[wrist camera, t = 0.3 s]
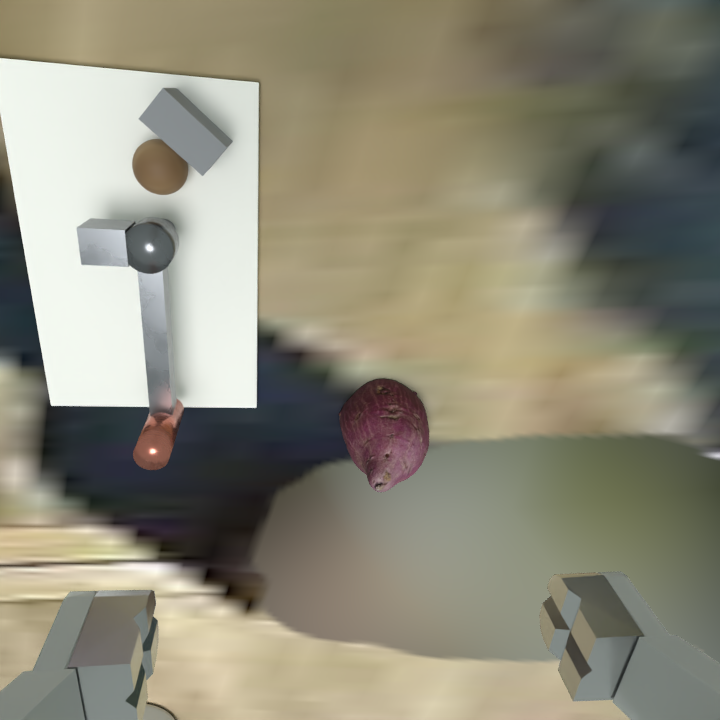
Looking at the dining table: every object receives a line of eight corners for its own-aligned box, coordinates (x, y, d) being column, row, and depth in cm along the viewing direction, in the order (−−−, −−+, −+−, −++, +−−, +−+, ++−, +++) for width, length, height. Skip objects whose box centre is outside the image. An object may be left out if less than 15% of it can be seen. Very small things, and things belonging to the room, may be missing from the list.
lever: (89, 212, 47) (55, 234, 40) (178, 217, 48) (160, 239, 41) (114, 421, 55) (89, 470, 48) (189, 421, 57) (176, 469, 49)
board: (-3, 58, 46) (-50, 52, 39) (259, 82, 49) (255, 81, 42) (55, 399, 59) (27, 437, 53) (256, 402, 62) (253, 438, 56)
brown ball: (136, 135, 48) (123, 138, 44) (190, 139, 49) (182, 143, 45) (141, 188, 50) (128, 197, 46) (192, 192, 51) (185, 200, 47)
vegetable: (331, 427, 69) (301, 513, 56) (361, 360, 64) (335, 437, 51) (410, 459, 69) (398, 552, 56) (445, 395, 64) (442, 480, 51)
